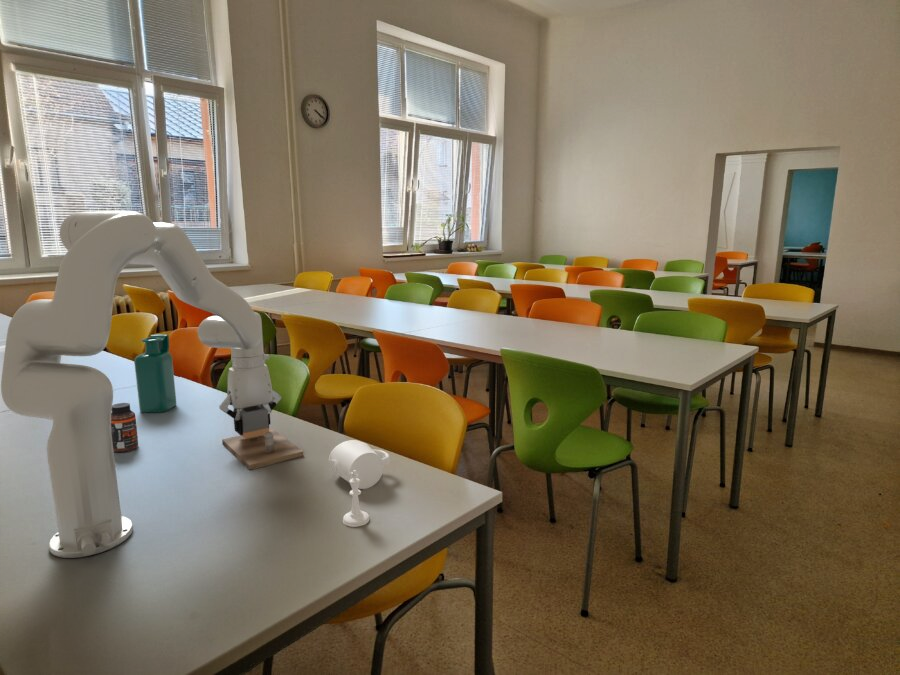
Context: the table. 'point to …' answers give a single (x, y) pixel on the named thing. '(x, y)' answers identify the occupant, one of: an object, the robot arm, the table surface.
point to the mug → (358, 462)
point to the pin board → (262, 449)
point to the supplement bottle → (123, 428)
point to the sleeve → (254, 421)
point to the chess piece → (355, 506)
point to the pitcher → (155, 375)
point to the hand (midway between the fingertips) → (253, 430)
